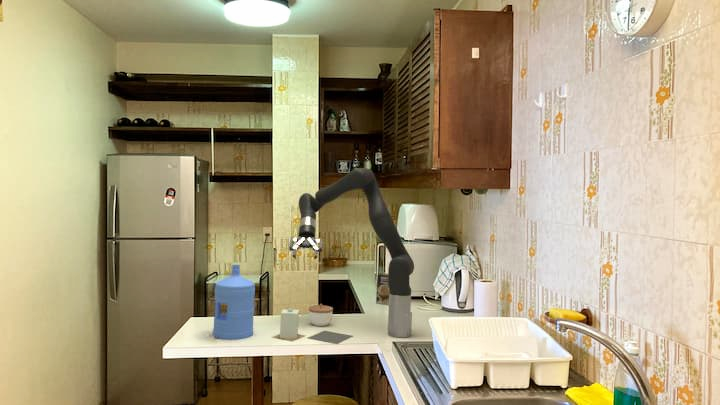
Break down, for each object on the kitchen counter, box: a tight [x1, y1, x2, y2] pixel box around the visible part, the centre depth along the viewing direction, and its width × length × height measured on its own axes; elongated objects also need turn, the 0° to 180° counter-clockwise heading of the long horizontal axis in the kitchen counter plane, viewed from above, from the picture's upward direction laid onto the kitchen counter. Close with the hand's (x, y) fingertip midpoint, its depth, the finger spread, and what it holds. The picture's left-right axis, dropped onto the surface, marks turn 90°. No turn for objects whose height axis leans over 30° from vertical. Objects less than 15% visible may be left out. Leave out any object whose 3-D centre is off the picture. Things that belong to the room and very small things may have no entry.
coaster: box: [271, 333, 306, 342], centre depth 197 cm, size 10×10×1 cm
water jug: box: [212, 264, 256, 340], centre depth 198 cm, size 16×16×28 cm
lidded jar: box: [308, 303, 334, 327], centre depth 219 cm, size 11×11×9 cm
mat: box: [306, 330, 354, 345], centre depth 199 cm, size 14×14×1 cm
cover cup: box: [279, 307, 300, 340], centre depth 198 cm, size 7×7×11 cm
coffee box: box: [375, 272, 389, 306], centre depth 272 cm, size 9×6×16 cm
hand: (304, 257), depth 210 cm, fingers open, 8 cm apart
